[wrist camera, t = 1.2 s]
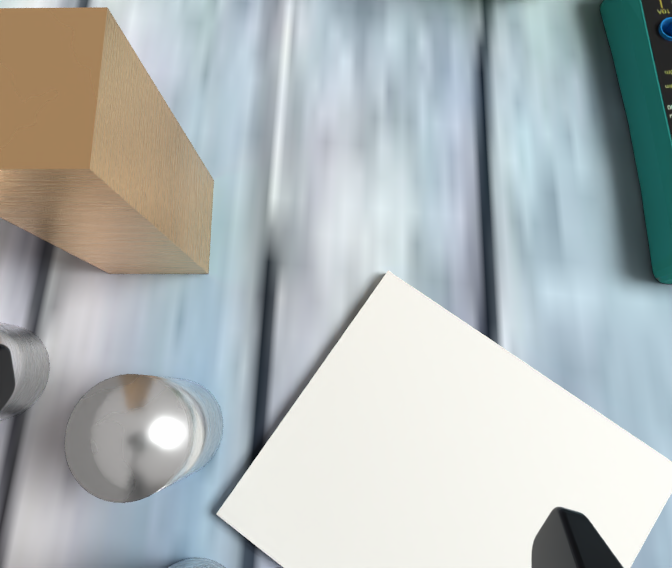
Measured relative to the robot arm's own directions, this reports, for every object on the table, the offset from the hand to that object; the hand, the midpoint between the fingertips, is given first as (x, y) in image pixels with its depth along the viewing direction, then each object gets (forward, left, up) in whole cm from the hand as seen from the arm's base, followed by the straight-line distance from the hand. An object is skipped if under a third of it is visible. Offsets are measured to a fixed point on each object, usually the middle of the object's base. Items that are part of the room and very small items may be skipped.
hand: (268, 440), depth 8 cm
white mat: (+1, -6, -14) cm, 15 cm away
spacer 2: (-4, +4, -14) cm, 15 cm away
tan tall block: (+3, +10, -14) cm, 17 cm away
